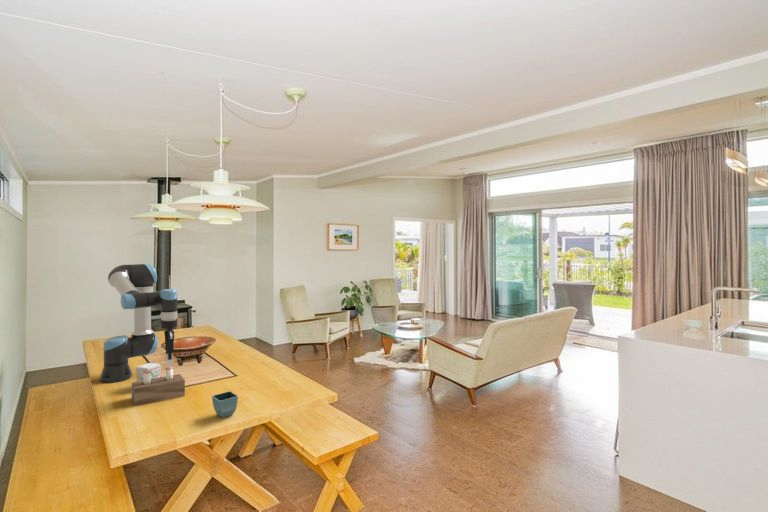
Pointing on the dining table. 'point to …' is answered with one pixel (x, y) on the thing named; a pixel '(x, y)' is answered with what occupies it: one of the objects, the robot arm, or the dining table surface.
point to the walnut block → (158, 390)
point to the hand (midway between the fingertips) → (169, 365)
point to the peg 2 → (169, 373)
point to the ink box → (152, 367)
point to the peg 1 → (146, 377)
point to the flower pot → (225, 403)
